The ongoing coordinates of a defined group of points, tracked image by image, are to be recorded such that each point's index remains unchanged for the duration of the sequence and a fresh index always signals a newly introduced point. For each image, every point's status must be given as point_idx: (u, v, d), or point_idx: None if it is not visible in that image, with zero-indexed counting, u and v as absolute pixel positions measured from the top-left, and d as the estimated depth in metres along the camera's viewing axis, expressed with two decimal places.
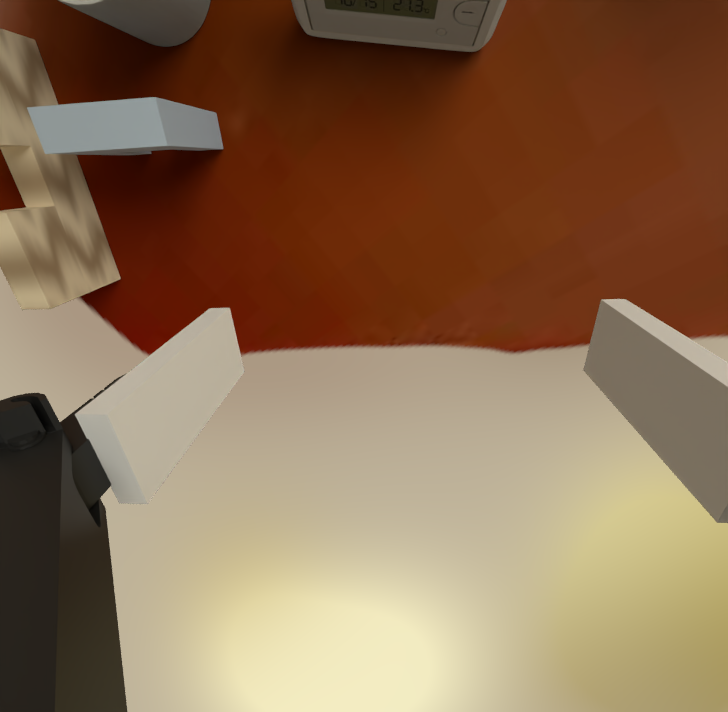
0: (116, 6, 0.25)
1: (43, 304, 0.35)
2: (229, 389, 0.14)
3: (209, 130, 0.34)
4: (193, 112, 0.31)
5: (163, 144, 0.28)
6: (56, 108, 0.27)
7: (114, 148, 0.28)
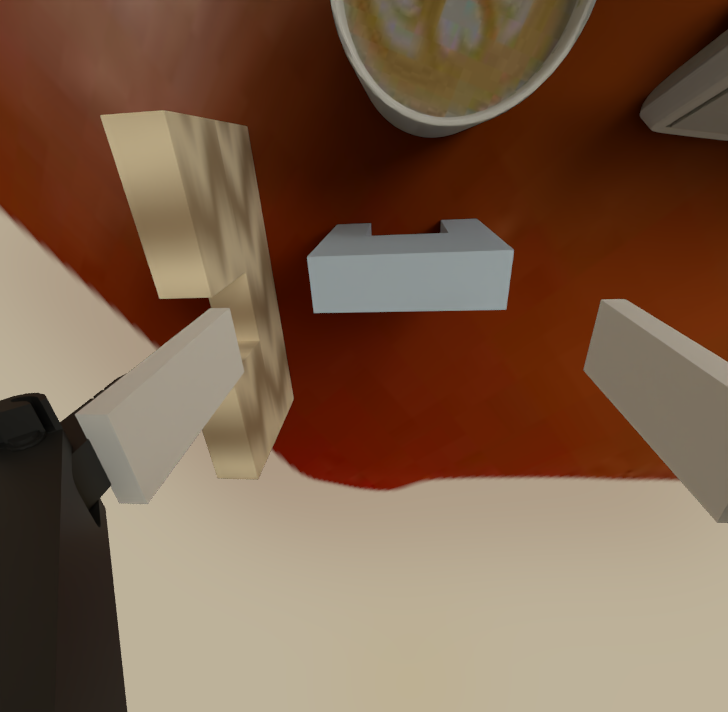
0: None
1: (249, 474, 0.26)
2: (229, 389, 0.14)
3: None
4: None
5: (500, 307, 0.19)
6: (352, 259, 0.19)
7: (420, 309, 0.20)
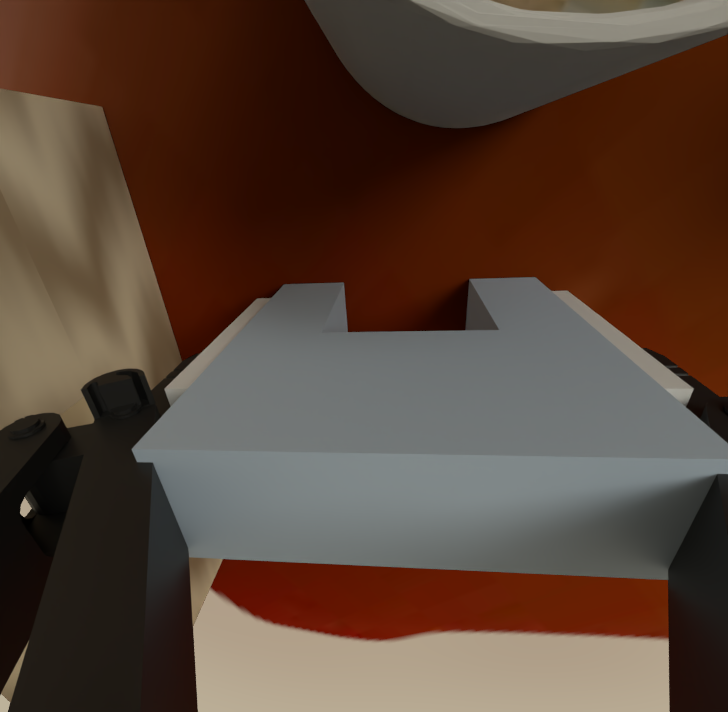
0: (691, 47, 0.04)
1: None
2: None
3: None
4: None
5: (664, 576, 0.07)
6: (258, 461, 0.07)
7: (448, 563, 0.08)
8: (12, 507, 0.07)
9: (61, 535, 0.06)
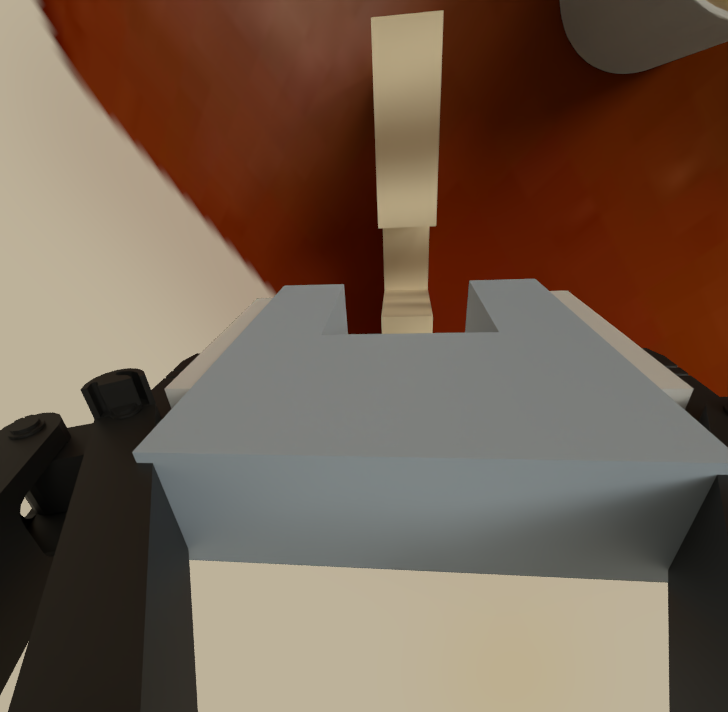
0: None
1: None
2: None
3: None
4: None
5: (663, 578, 0.07)
6: (258, 464, 0.07)
7: (448, 565, 0.08)
8: (12, 507, 0.07)
9: (61, 535, 0.06)
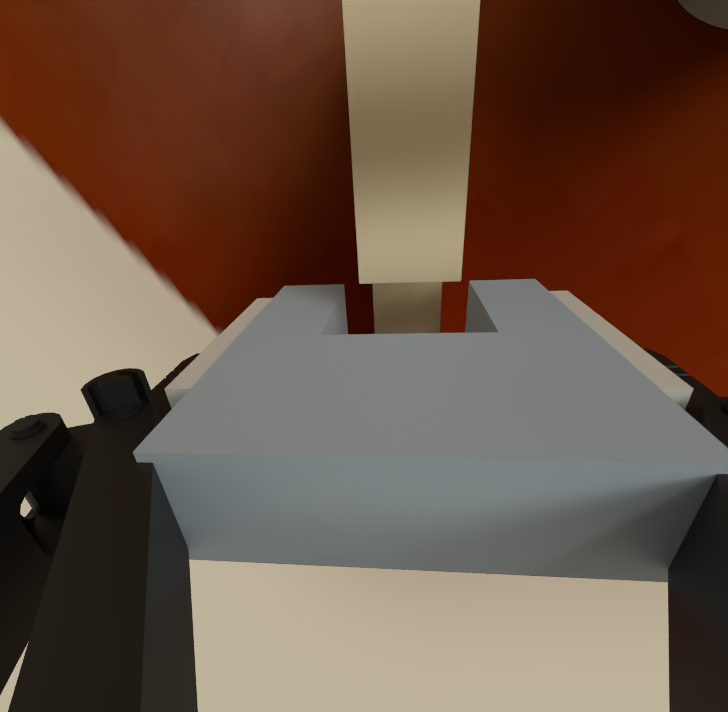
0: None
1: None
2: None
3: None
4: None
5: (663, 578, 0.07)
6: (258, 463, 0.07)
7: (447, 565, 0.08)
8: (13, 506, 0.07)
9: (61, 535, 0.06)
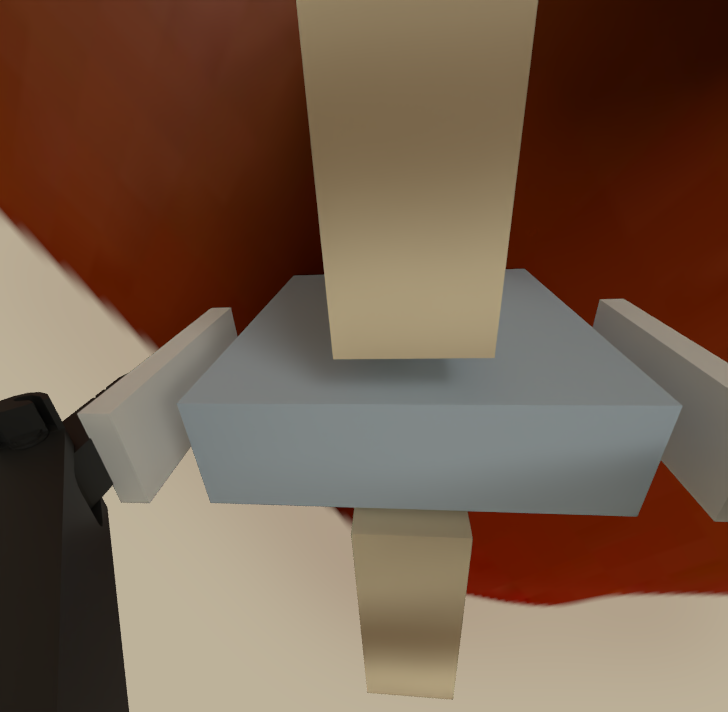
0: None
1: (438, 692, 0.13)
2: None
3: None
4: None
5: (623, 512, 0.08)
6: (282, 412, 0.08)
7: (441, 505, 0.09)
8: None
9: None
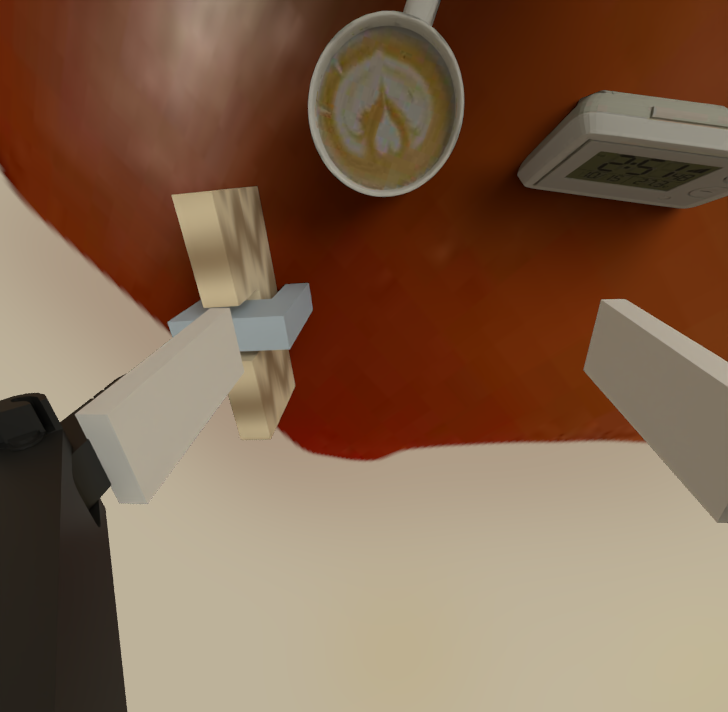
0: None
1: (264, 435, 0.36)
2: (229, 389, 0.14)
3: (306, 304, 0.38)
4: (299, 299, 0.35)
5: (286, 348, 0.32)
6: None
7: (241, 350, 0.32)
8: None
9: None
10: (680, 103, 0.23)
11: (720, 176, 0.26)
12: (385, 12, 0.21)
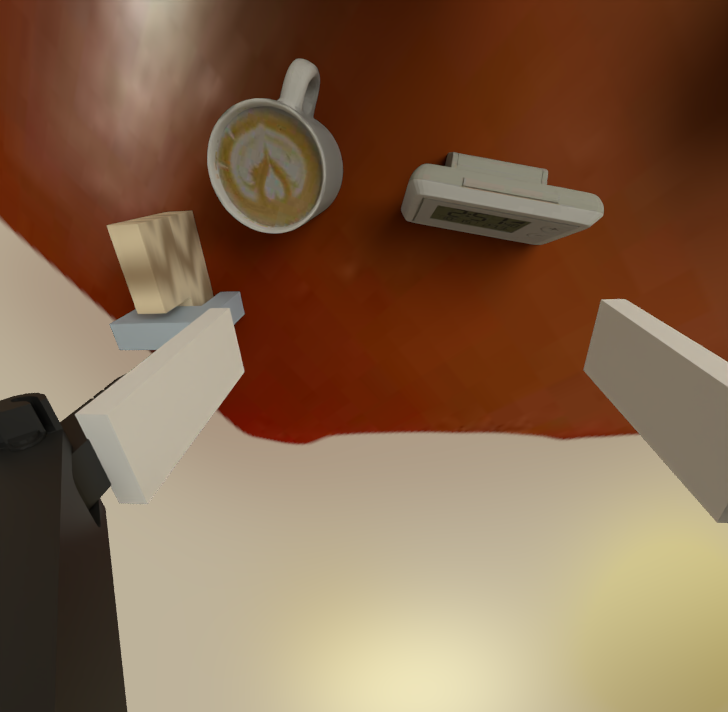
0: None
1: None
2: (229, 389, 0.14)
3: (235, 310, 0.45)
4: (225, 307, 0.42)
5: None
6: (130, 325, 0.38)
7: None
8: None
9: None
10: (487, 175, 0.30)
11: (536, 227, 0.33)
12: (259, 99, 0.28)
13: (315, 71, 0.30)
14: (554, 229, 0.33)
